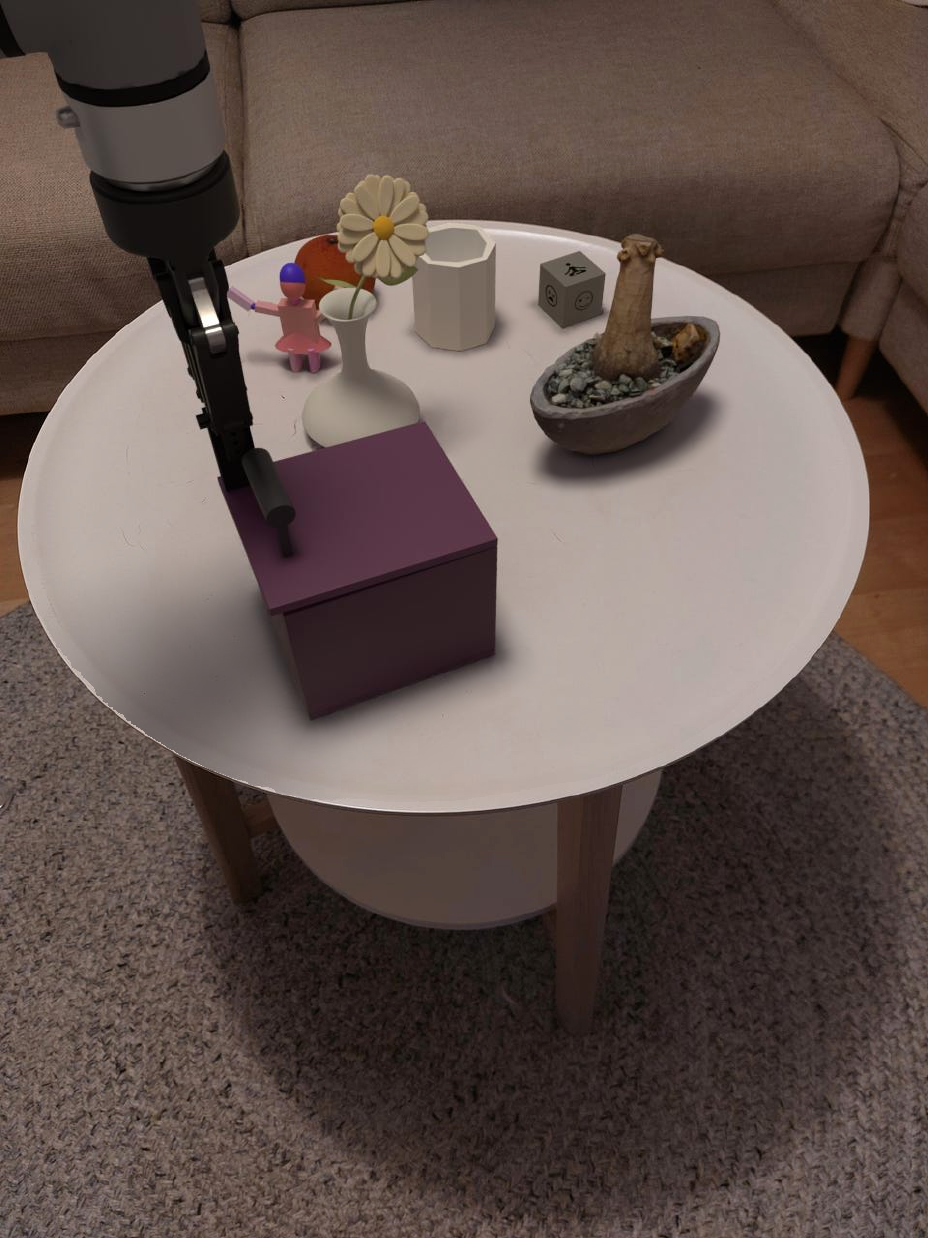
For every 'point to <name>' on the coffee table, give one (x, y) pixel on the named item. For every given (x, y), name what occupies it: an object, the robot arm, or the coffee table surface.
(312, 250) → the fruit
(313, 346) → the figurine
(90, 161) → the robot arm
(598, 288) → the dice cube
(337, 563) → the lid
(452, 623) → the chest
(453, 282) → the mug
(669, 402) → the planter
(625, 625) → the coffee table surface
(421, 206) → the flower in vase
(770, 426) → the coffee table surface
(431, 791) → the coffee table surface
